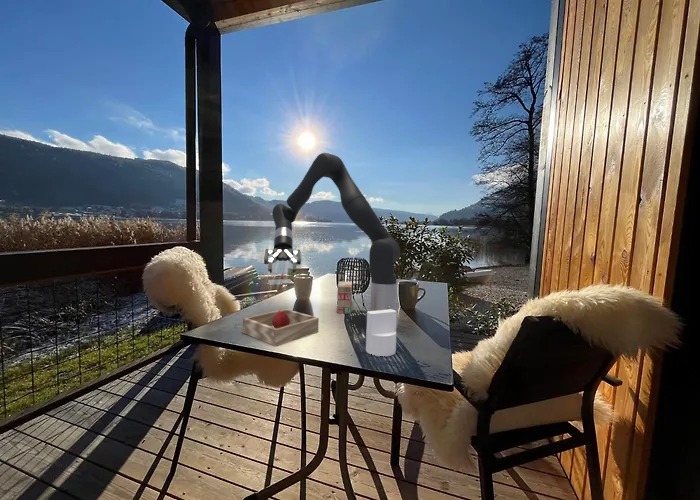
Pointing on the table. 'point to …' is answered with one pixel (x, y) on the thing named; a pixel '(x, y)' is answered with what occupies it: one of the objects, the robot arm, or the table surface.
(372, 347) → the cylinder with rectangular tab
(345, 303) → the cardboard carton
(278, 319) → the onion
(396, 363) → the table surface
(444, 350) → the table surface
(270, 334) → the wooden box
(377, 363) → the table surface
